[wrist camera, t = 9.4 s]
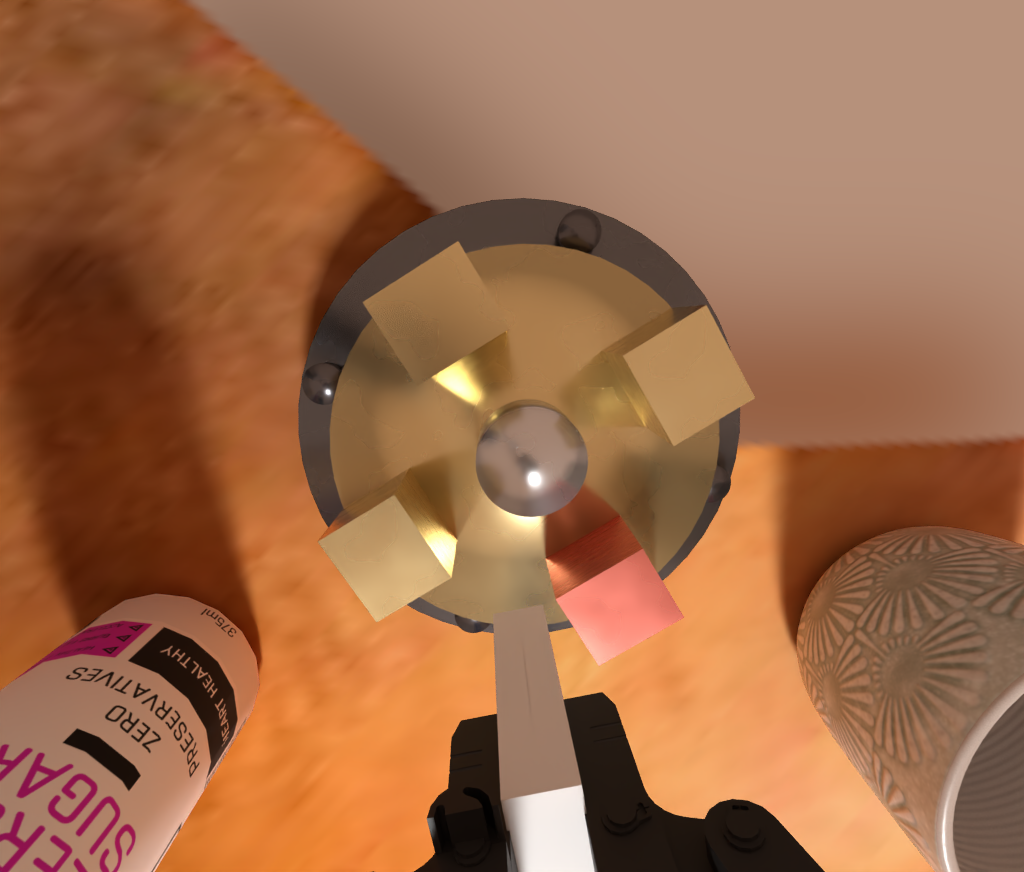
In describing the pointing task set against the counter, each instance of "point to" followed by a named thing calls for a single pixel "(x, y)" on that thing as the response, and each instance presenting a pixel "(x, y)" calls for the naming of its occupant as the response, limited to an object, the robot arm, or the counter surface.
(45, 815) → the supplement can
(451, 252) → the brass disc with cubes
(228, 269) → the counter surface
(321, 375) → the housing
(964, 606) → the planter
